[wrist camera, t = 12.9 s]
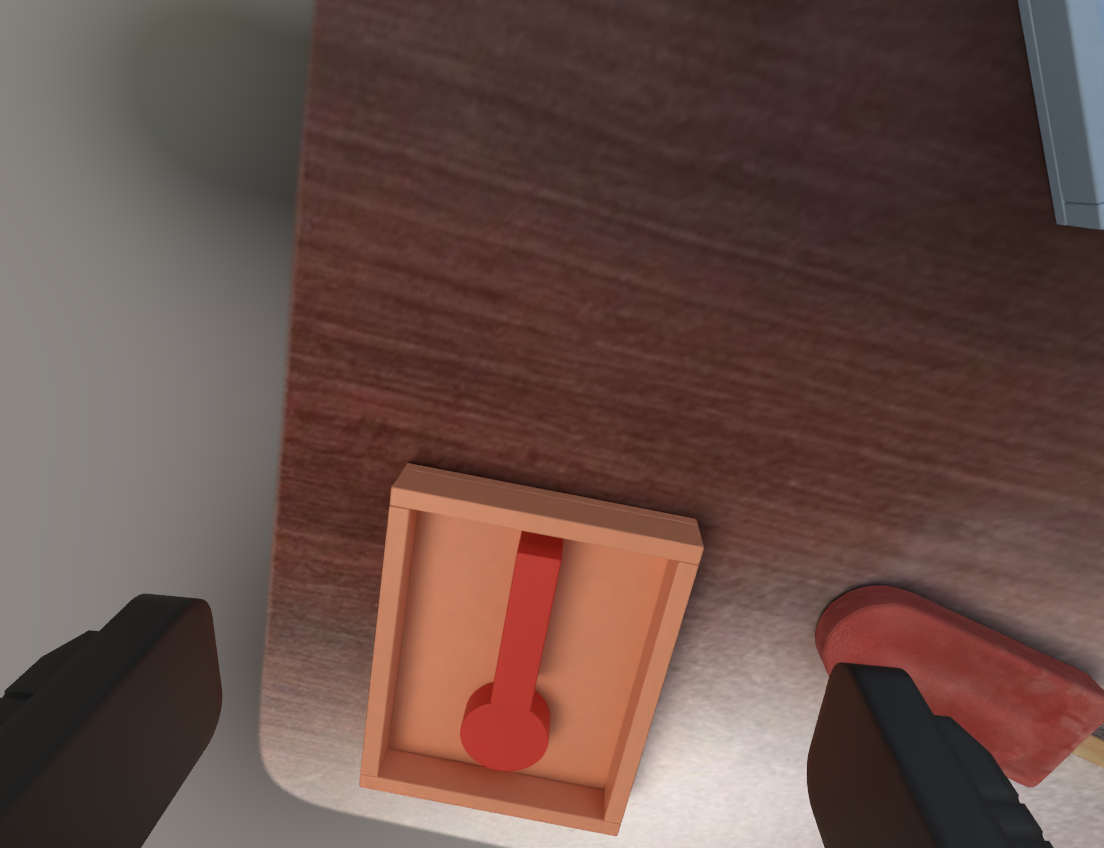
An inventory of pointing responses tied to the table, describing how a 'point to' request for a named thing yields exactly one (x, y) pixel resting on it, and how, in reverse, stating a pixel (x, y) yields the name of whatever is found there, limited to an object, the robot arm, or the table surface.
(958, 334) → the table surface
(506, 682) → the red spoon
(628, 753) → the clay tray
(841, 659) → the popsicle
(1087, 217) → the blue tray
